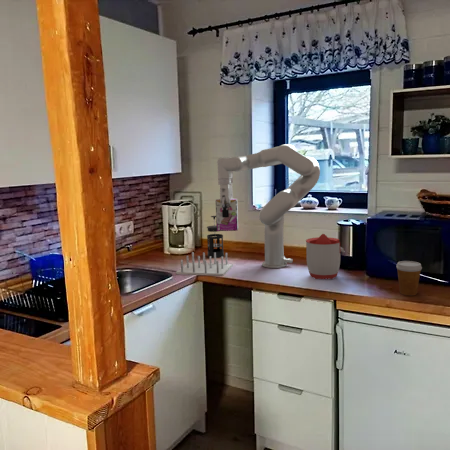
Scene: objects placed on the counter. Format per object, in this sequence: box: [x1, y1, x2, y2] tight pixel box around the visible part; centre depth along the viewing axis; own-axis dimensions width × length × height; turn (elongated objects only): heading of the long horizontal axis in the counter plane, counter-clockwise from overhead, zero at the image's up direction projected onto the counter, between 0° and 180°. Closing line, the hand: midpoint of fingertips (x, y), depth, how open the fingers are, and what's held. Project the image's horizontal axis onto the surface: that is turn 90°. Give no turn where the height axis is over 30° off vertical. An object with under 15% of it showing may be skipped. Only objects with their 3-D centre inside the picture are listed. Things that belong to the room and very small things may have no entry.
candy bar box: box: [215, 198, 239, 232], centre depth 238 cm, size 11×5×16 cm, turn 84°
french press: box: [206, 215, 225, 259], centre depth 257 cm, size 12×9×23 cm
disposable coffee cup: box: [396, 260, 423, 296], centre depth 181 cm, size 10×10×12 cm
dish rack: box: [175, 251, 234, 277], centre depth 228 cm, size 24×19×7 cm
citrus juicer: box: [305, 233, 346, 280], centre depth 208 cm, size 16×17×20 cm
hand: (227, 216), depth 238 cm, fingers closed on candy bar box, 5 cm apart
